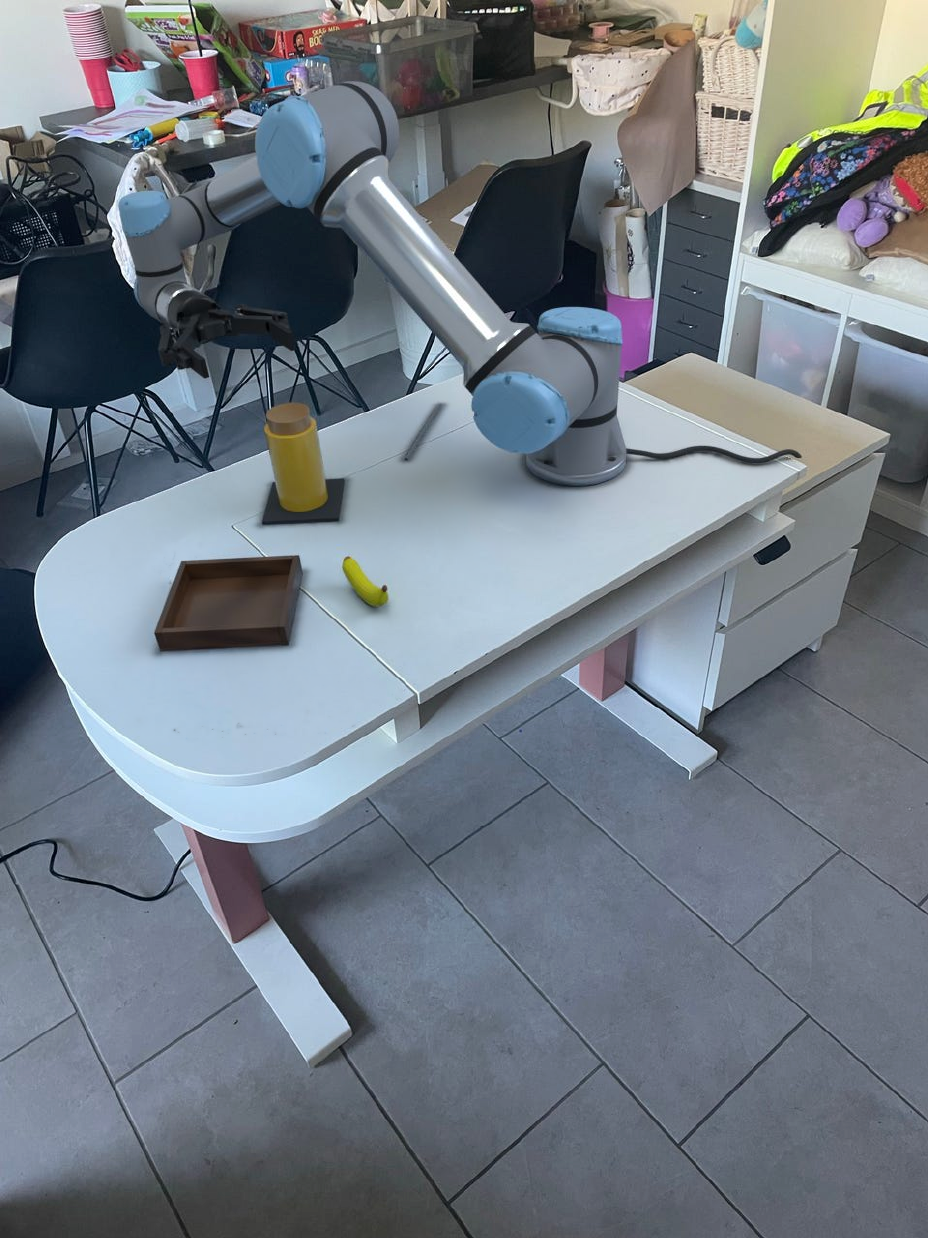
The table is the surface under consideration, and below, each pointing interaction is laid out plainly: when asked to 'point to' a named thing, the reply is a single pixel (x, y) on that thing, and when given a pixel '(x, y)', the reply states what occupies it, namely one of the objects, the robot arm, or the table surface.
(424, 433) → the rod
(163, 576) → the table surface
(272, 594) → the box
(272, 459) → the jar
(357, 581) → the fruit
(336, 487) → the mat
